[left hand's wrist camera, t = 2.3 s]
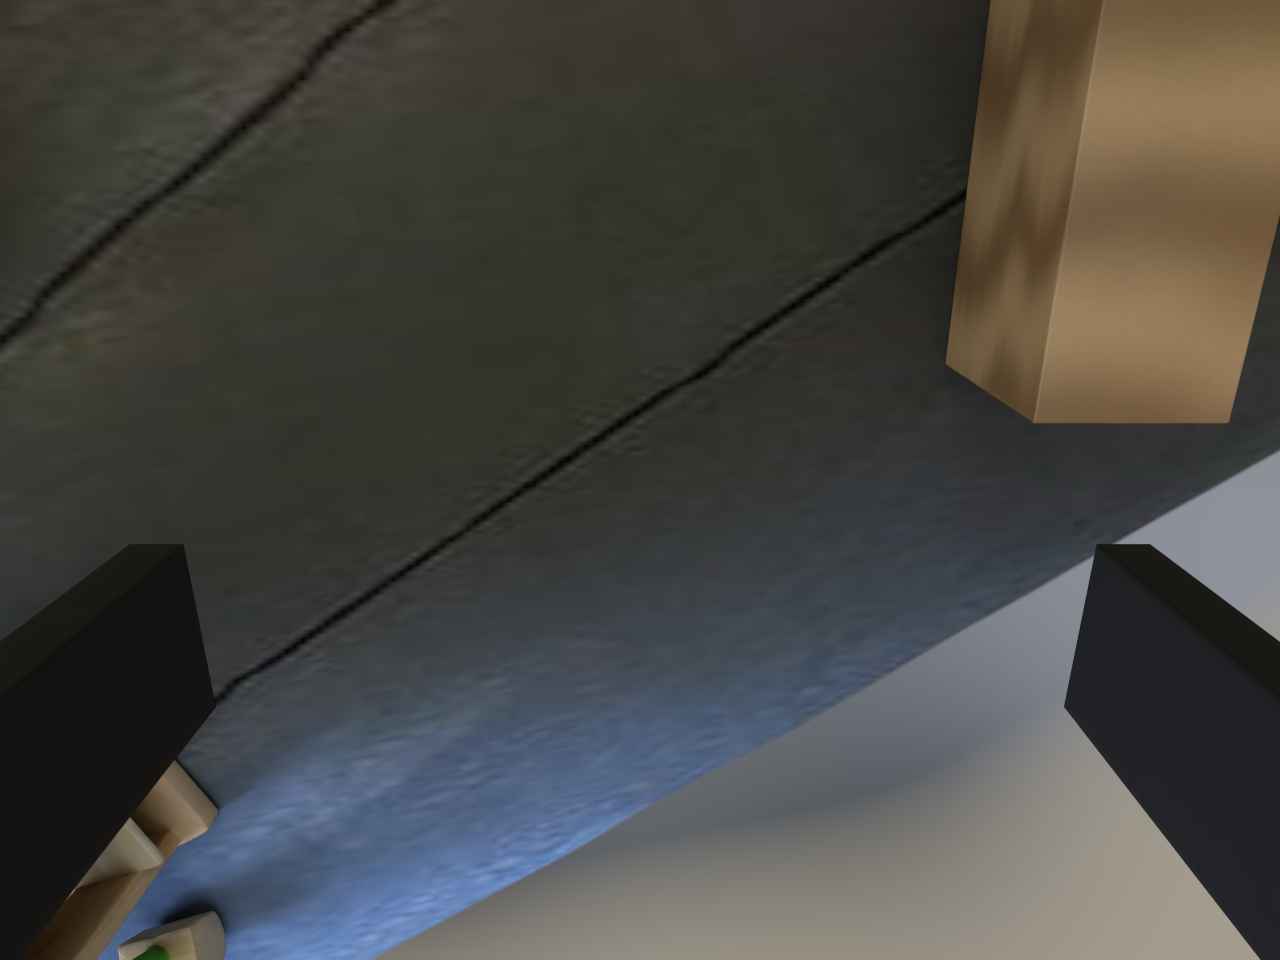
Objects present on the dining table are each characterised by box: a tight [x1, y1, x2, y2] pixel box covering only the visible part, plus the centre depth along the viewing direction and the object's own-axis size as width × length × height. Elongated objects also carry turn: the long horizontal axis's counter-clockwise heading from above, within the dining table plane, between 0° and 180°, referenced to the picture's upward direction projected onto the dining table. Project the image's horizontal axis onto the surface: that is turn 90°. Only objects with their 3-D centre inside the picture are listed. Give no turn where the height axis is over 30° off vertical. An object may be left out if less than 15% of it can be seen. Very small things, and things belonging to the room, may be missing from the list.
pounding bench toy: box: [20, 760, 226, 960], centre depth 45 cm, size 23×14×18 cm, turn 28°
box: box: [946, 0, 1280, 423], centre depth 34 cm, size 27×8×10 cm, turn 0°
